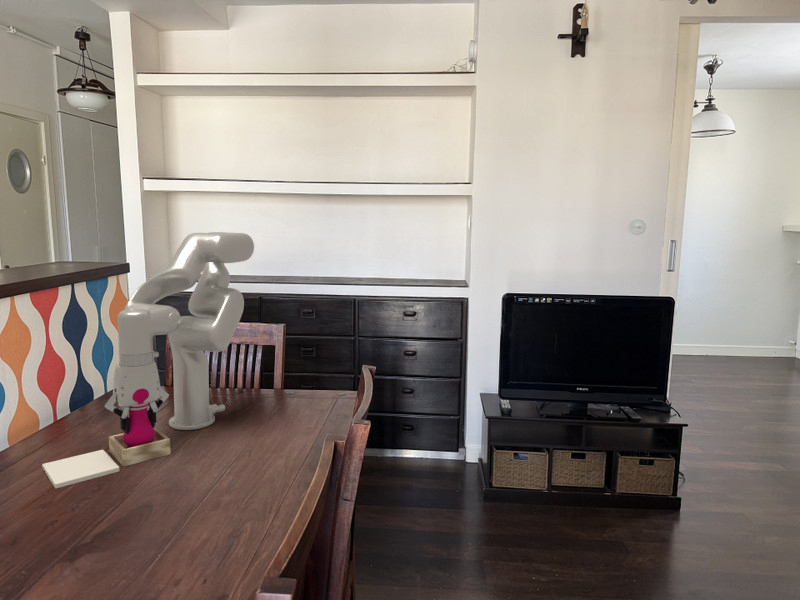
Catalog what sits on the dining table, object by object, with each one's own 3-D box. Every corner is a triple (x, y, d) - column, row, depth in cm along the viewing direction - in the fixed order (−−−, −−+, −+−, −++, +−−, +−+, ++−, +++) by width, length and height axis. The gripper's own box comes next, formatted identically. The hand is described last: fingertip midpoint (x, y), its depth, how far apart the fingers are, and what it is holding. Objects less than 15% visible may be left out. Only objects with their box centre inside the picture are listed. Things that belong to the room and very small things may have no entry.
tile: (103, 453, 136) (102, 449, 135) (119, 471, 126) (119, 467, 126) (42, 468, 127) (42, 464, 126) (55, 488, 117) (55, 484, 117)
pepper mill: (143, 460, 132) (140, 382, 129) (117, 457, 134) (113, 379, 131) (161, 448, 139) (159, 374, 136) (136, 445, 141) (134, 371, 138)
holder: (154, 440, 144) (154, 426, 144) (170, 454, 136) (170, 439, 136) (109, 451, 137) (108, 436, 136) (123, 466, 129) (122, 450, 128)
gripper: (165, 351, 142) (167, 417, 144) (93, 361, 130) (97, 432, 132) (177, 357, 136) (178, 425, 139) (102, 367, 124) (106, 442, 127)
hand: (138, 428), depth 136 cm, fingers closed on pepper mill, 5 cm apart
